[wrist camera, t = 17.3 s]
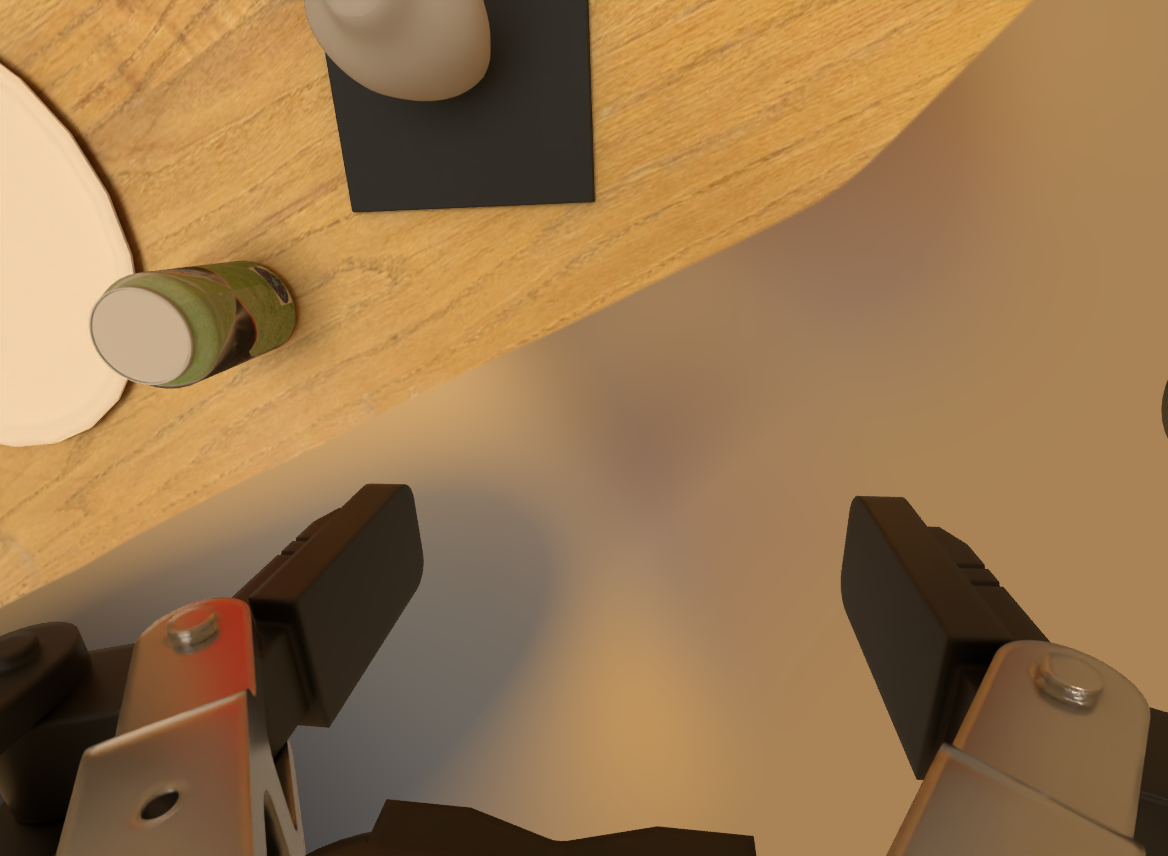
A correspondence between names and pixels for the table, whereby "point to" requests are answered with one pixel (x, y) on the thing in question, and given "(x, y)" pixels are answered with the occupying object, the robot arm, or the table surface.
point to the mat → (481, 123)
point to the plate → (51, 275)
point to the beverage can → (190, 321)
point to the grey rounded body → (405, 44)
